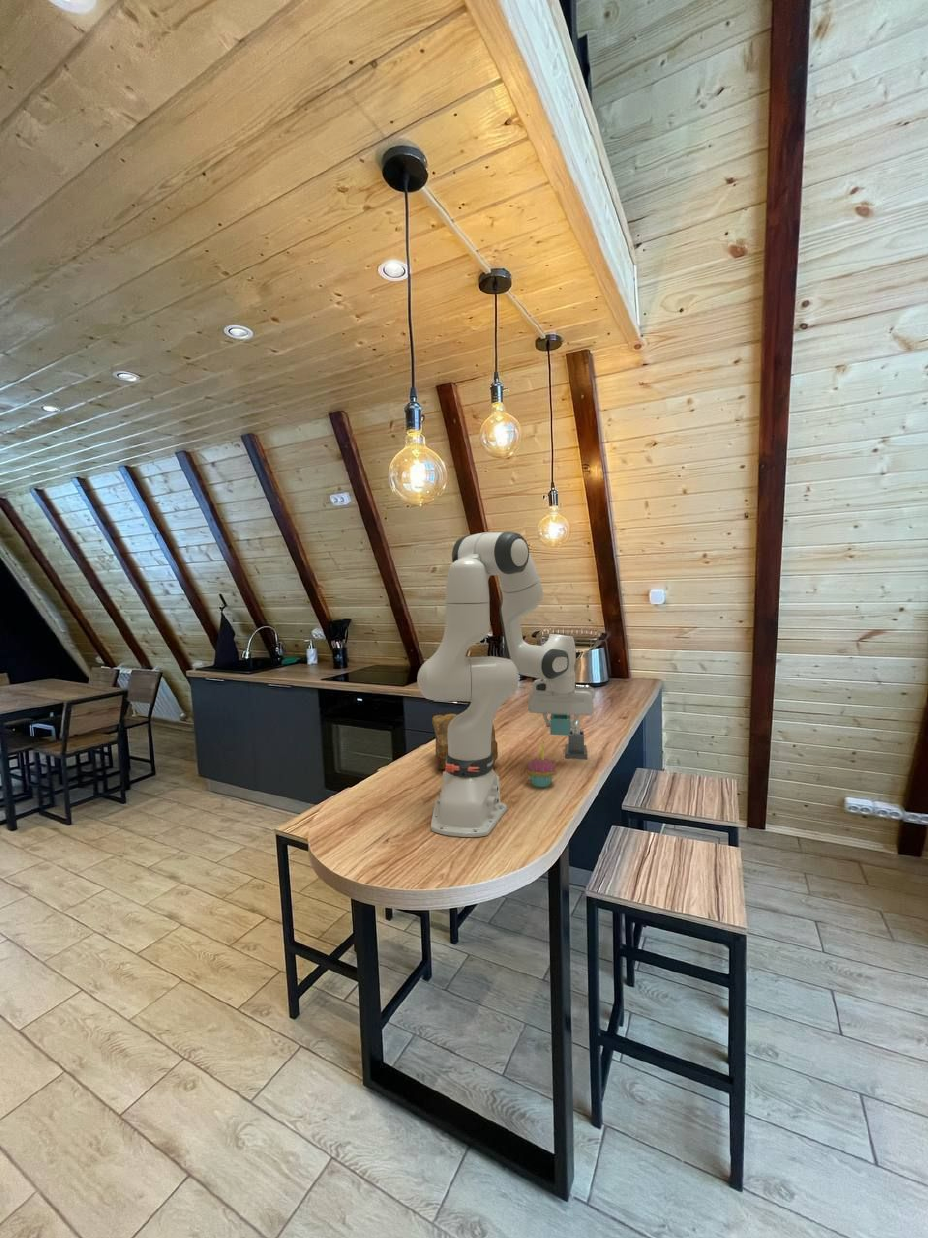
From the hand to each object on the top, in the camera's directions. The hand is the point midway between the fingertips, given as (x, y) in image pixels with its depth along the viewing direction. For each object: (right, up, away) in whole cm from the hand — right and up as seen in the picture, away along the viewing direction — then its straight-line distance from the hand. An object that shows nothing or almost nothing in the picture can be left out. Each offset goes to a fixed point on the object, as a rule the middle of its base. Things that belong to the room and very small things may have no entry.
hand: (560, 727), depth 155 cm
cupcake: (-8, -13, -14) cm, 21 cm away
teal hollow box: (0, -2, 0) cm, 2 cm away
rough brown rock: (-33, -13, +2) cm, 35 cm away
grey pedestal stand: (+8, -11, +13) cm, 19 cm away
